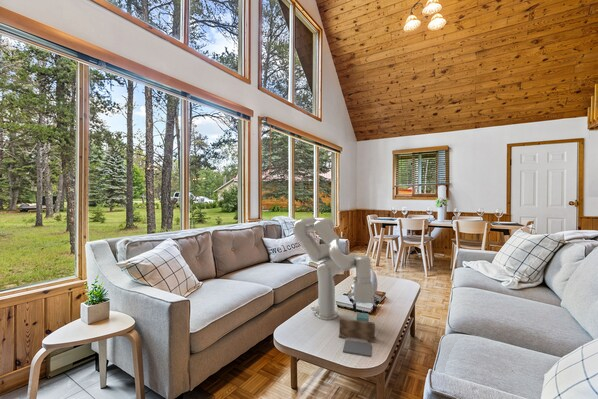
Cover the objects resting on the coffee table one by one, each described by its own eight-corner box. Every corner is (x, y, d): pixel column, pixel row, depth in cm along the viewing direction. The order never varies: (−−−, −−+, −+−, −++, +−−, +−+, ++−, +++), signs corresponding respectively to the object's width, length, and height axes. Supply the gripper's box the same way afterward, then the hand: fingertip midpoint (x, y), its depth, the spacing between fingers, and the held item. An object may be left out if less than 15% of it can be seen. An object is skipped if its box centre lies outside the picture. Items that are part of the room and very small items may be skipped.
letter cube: (356, 328, 146) (356, 317, 146) (357, 323, 152) (357, 312, 152) (368, 330, 144) (368, 318, 144) (368, 324, 150) (368, 313, 150)
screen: (338, 337, 137) (338, 321, 136) (340, 331, 142) (340, 316, 142) (374, 342, 132) (374, 326, 132) (374, 336, 138) (375, 320, 137)
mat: (342, 352, 124) (342, 350, 124) (345, 340, 134) (345, 339, 134) (370, 356, 121) (370, 355, 121) (371, 344, 130) (371, 343, 130)
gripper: (346, 280, 146) (347, 313, 146) (380, 282, 141) (381, 316, 141) (347, 276, 153) (348, 307, 153) (380, 278, 148) (381, 310, 148)
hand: (364, 312), depth 147 cm, fingers open, 9 cm apart
